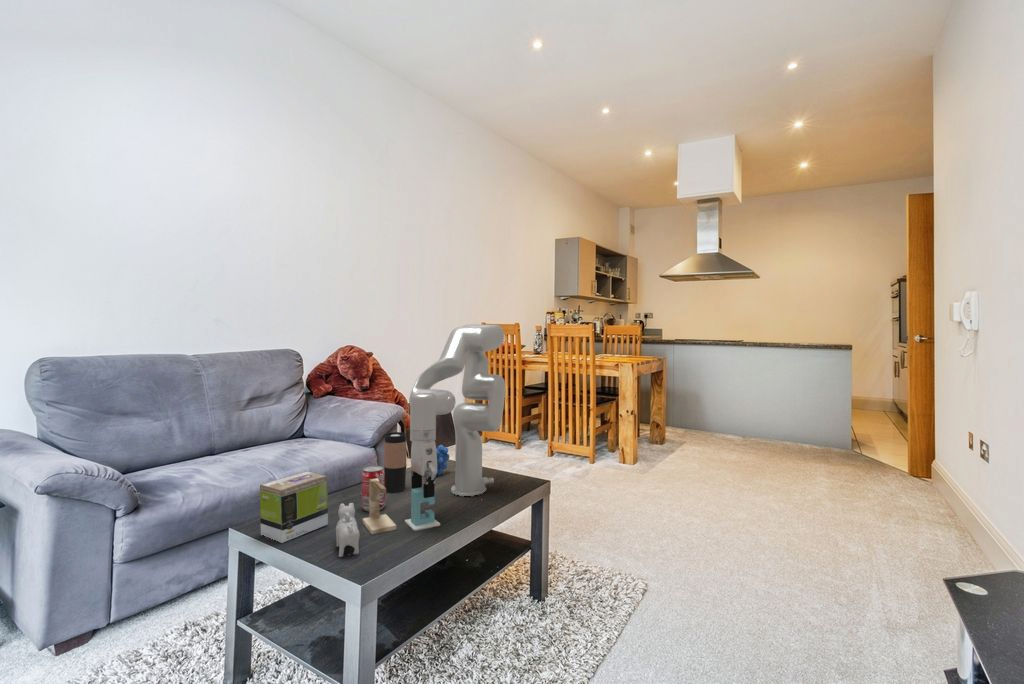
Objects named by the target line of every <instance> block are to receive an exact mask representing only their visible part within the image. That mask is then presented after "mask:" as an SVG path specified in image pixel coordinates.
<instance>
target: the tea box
mask: <svg viewBox="0 0 1024 684" xmlns="http://www.w3.org/2000/svg"><path fill="white" fill-rule="evenodd" d="M328 495H329V494H328V476H327V475H323V474H318V473H315V472H310V471H307V470H306V471H303V472H302V471H301V472H299V473H295V474H291V475H288V476H285V477H282V478H278V479H275V480H272V481H267V482H264V483H261V484H259V506H260V507H259V509H260V511H259V516H260V523H259V524H260V536H262V535H264V536H266V537H269V538H271V539H270V540H272V539H273V540H272V541H274V540H276V541H275V542H277V541H278V542H277V543H280V544H283V543H285V542H288V541H291V540H293V539H296V538H298V537H301V536H303V535H305V534H308V533H310V532H312V531H315V530H317V529H320V528H322V527H326V526H327V525H329V512H328V511H329V507H328V506H329V505H328V504H329V501H328V500H329V499H328V498H329V497H328ZM266 537H265V538H266ZM269 538H268V539H269Z"/></svg>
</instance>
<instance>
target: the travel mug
mask: <svg viewBox="0 0 1024 684" xmlns="http://www.w3.org/2000/svg"><path fill="white" fill-rule="evenodd" d="M383 449H384V451H383V452H384V453H383V454H384V455H383V463H384V464H383V470H384V472H385V488H386V493H391V494H392V493H401V492H404V491H405V489H406V477H407V476H406V474H407V434H406V432H401V431H398V432H397V431H396V432H395V431H394V432H387V433H385V434H384V447H383Z"/></svg>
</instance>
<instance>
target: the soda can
mask: <svg viewBox="0 0 1024 684" xmlns="http://www.w3.org/2000/svg"><path fill="white" fill-rule="evenodd" d="M376 478H377V479H379V480H380V483H381V484H382V485H383V486H384V487H385V472H384V466H381V465H371V466H366V467H364V468H363V471H362V473H361V508H362V509H363V511H365V512H368V513H369V479H376ZM384 507H386V493H381V492H380V491H379V511H381V510H383V509H384Z"/></svg>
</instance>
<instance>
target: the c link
mask: <svg viewBox="0 0 1024 684" xmlns="http://www.w3.org/2000/svg"><path fill="white" fill-rule="evenodd" d="M435 496H436V495H434V497H429V498H424V497H423V487H421V488H415V489H412V488H411V490H410V519H411V522H412V523H413V524H414V525H415V526H417V525H422V524H427V523H432V522H434V519H435V517H436V516H435V514H436V513H435V511H432V510H431V509H426V510H424V513H421V504H423V503H426V504H428V505H434V504H435V503H436V502H435V501H436V499H435V498H436V497H435ZM435 520H436V519H435Z"/></svg>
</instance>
